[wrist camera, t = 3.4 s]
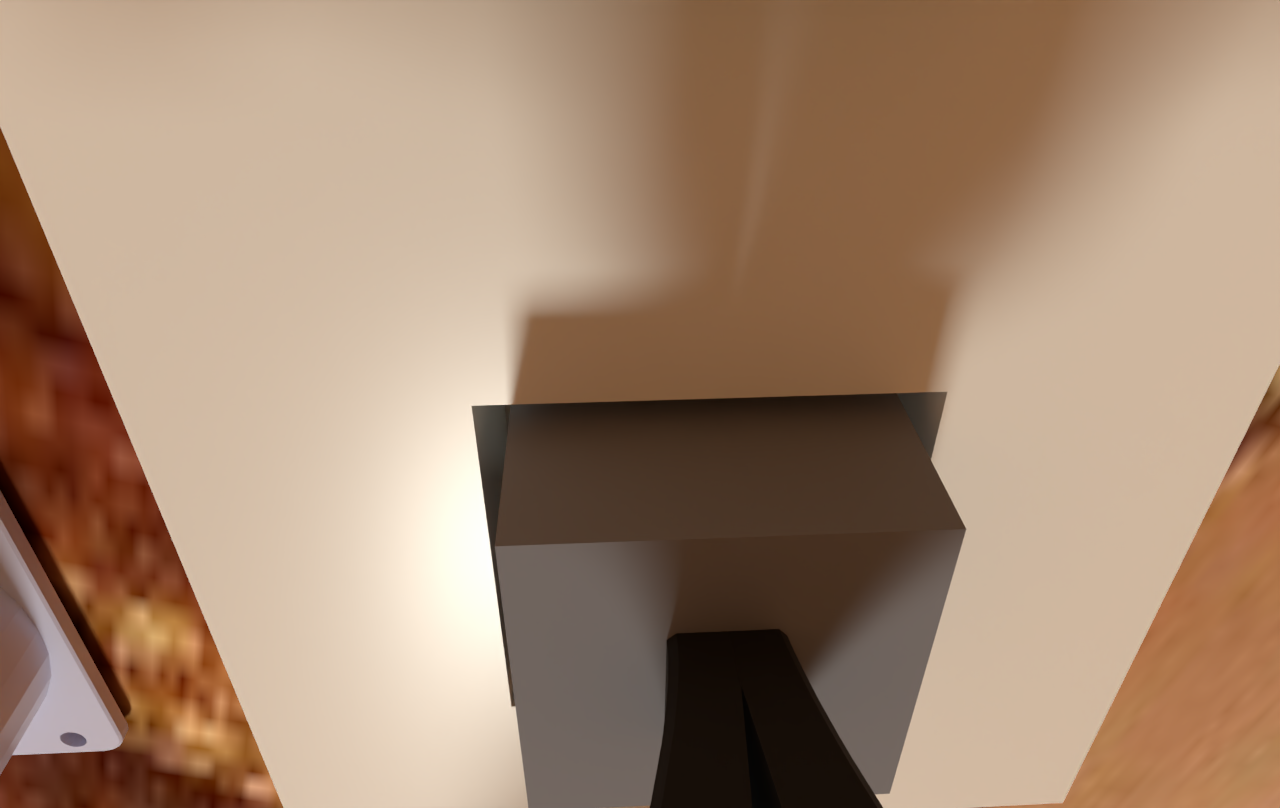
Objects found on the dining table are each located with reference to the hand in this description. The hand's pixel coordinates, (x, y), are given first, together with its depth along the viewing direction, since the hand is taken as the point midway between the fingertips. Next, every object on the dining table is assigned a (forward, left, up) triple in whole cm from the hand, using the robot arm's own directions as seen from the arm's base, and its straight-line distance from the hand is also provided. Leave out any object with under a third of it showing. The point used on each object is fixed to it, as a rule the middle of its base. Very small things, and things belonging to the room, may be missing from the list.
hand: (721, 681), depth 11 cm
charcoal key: (0, 0, -3) cm, 3 cm away
